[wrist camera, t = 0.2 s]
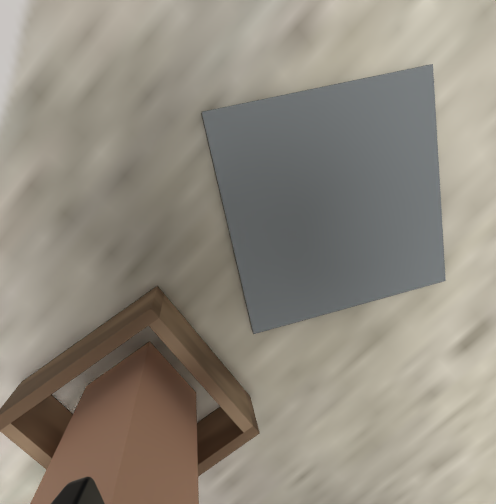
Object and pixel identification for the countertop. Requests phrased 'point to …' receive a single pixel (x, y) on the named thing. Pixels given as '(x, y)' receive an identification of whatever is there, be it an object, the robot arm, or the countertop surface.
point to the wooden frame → (101, 344)
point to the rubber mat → (331, 194)
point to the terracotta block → (131, 436)
